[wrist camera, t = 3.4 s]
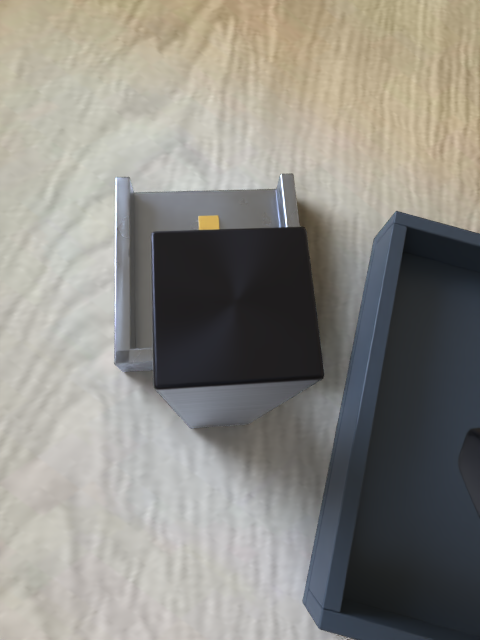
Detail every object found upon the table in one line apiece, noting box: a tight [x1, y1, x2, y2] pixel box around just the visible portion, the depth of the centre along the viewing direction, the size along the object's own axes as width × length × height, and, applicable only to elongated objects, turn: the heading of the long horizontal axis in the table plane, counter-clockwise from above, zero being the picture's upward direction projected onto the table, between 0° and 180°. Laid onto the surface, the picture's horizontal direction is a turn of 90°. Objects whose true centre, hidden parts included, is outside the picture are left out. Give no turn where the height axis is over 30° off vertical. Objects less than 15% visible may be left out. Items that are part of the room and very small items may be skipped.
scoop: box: [114, 174, 324, 428], centre depth 13 cm, size 10×8×12 cm
